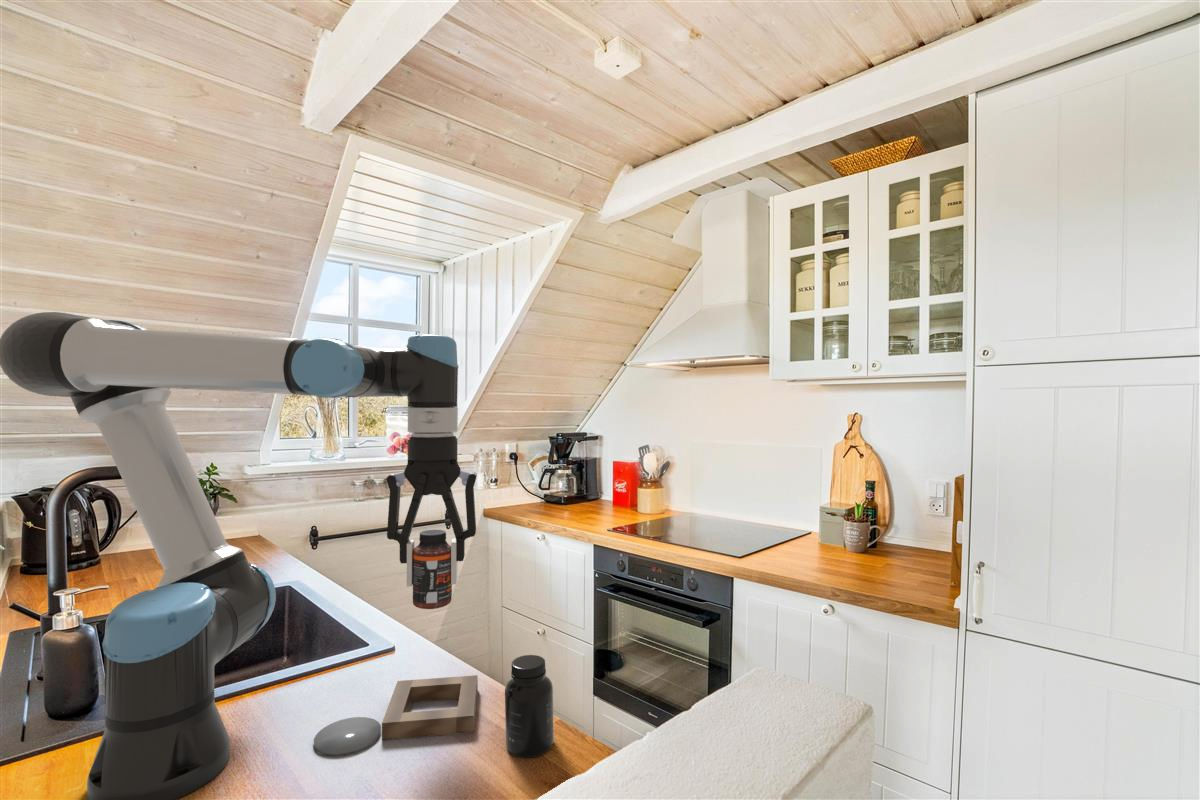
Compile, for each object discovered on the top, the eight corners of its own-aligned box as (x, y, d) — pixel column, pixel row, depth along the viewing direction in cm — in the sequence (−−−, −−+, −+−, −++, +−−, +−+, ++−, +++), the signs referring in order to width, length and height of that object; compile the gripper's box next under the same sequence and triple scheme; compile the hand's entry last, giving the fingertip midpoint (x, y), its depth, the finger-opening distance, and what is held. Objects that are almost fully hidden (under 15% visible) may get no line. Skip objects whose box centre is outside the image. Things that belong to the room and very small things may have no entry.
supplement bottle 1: (441, 612, 91) (441, 537, 91) (405, 609, 92) (405, 535, 92) (458, 599, 97) (458, 528, 97) (424, 596, 98) (424, 526, 98)
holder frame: (381, 740, 87) (381, 723, 87) (397, 695, 100) (397, 680, 100) (473, 732, 89) (473, 715, 89) (477, 689, 102) (477, 675, 102)
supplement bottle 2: (533, 726, 91) (533, 647, 91) (563, 745, 86) (563, 661, 86) (495, 745, 86) (495, 661, 86) (524, 766, 81) (524, 677, 81)
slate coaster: (305, 758, 83) (305, 754, 83) (324, 723, 91) (324, 719, 91) (373, 752, 84) (373, 748, 84) (386, 718, 93) (386, 714, 93)
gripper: (363, 436, 89) (363, 593, 89) (493, 436, 92) (493, 587, 92) (374, 433, 96) (374, 577, 96) (494, 433, 99) (494, 573, 99)
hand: (432, 582), depth 94 cm, fingers closed on supplement bottle 1, 6 cm apart
